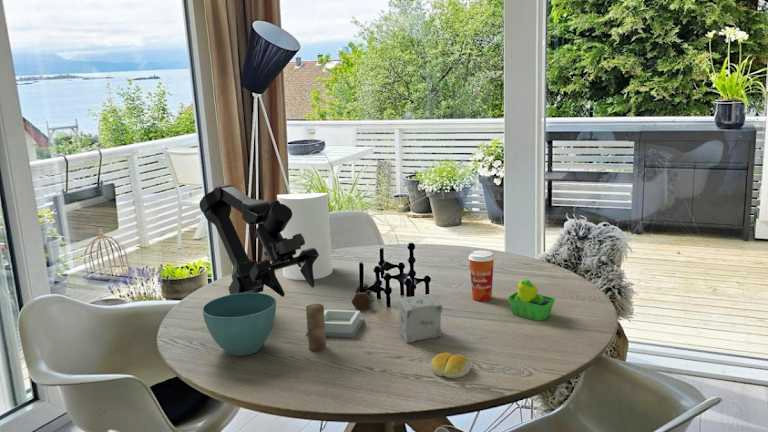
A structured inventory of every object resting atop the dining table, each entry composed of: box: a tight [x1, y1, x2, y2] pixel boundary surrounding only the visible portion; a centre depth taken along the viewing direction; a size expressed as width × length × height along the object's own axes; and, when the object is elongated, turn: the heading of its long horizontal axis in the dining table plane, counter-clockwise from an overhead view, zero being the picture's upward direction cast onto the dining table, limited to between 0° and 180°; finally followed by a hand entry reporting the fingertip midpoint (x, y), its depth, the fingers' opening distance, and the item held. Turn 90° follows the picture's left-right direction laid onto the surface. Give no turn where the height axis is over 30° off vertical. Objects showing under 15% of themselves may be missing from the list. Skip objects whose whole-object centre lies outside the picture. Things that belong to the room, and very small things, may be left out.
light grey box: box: [397, 293, 443, 344], centre depth 177 cm, size 10×8×10 cm
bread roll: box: [430, 352, 472, 379], centre depth 158 cm, size 8×9×4 cm
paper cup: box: [468, 250, 496, 303], centre depth 204 cm, size 8×8×14 cm
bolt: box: [351, 283, 372, 311], centre depth 207 cm, size 6×5×15 cm
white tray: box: [305, 309, 365, 338], centre depth 186 cm, size 13×12×4 cm
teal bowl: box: [201, 292, 277, 357], centre depth 174 cm, size 18×18×12 cm
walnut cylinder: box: [305, 303, 327, 352], centre depth 173 cm, size 4×4×11 cm
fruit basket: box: [507, 278, 556, 322], centre depth 189 cm, size 11×9×11 cm
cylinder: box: [276, 192, 333, 281], centre depth 236 cm, size 17×17×28 cm
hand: (298, 291), depth 177 cm, fingers open, 9 cm apart
